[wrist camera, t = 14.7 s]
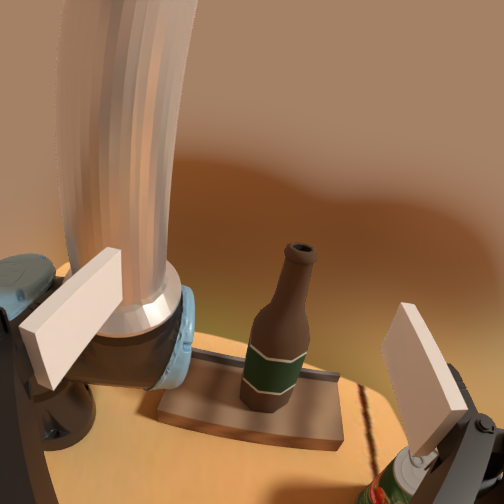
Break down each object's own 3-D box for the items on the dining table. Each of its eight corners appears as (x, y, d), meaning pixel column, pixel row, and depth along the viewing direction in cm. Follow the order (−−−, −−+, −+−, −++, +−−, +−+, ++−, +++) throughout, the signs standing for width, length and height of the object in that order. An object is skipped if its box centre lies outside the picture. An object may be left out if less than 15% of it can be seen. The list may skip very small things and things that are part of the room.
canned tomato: (412, 521, 27) (460, 485, 23) (363, 537, 26) (408, 507, 21) (395, 479, 34) (435, 437, 30) (348, 490, 33) (384, 451, 28)
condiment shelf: (157, 421, 40) (156, 402, 38) (181, 363, 52) (181, 344, 50) (336, 451, 39) (347, 434, 37) (331, 390, 51) (339, 372, 49)
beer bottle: (230, 380, 46) (256, 232, 37) (276, 373, 49) (314, 233, 40) (247, 420, 40) (285, 264, 30) (297, 409, 43) (350, 262, 33)
